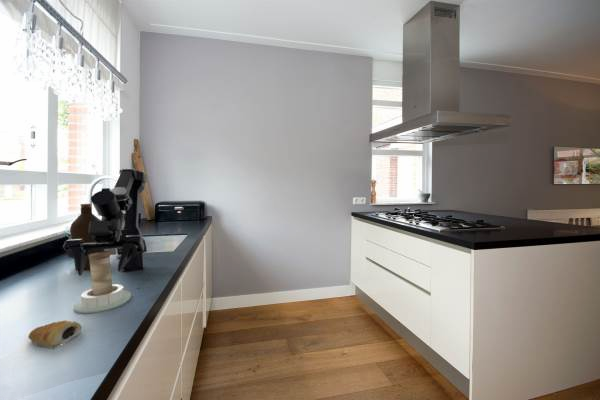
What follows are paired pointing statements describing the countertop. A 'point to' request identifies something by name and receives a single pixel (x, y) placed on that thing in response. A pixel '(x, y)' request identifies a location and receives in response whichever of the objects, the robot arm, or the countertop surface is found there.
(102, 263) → the canister
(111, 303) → the holder
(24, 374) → the countertop surface
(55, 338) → the pastry
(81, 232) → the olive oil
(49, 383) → the countertop surface
